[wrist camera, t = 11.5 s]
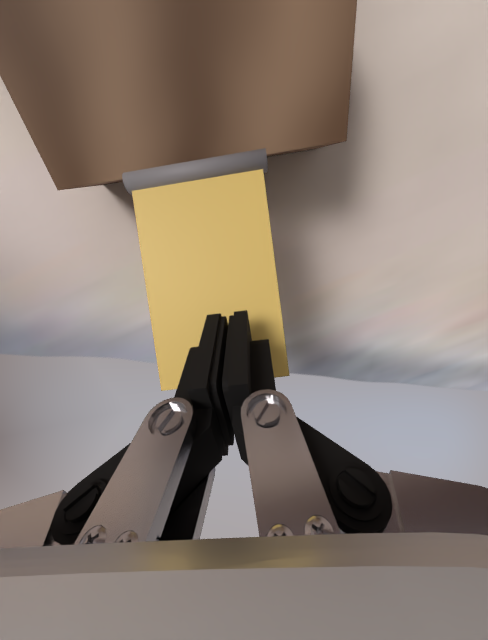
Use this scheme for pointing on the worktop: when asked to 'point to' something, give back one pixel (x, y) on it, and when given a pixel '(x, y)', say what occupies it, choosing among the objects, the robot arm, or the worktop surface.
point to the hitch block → (174, 80)
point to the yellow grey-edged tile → (206, 253)
